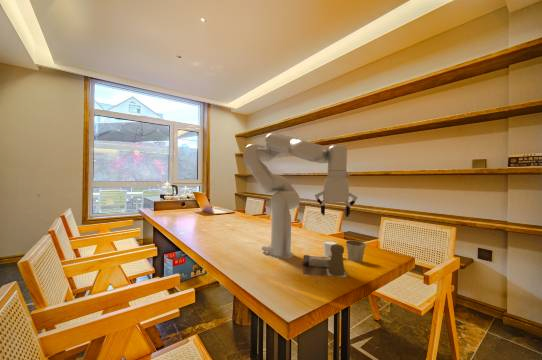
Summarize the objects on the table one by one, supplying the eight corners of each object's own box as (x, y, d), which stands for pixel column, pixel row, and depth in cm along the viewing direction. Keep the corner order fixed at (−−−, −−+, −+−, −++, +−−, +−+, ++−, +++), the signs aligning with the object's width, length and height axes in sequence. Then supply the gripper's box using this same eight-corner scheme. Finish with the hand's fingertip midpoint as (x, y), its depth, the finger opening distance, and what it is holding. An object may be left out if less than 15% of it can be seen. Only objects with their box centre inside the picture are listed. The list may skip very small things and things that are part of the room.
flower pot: (367, 266, 104) (368, 246, 104) (345, 264, 106) (346, 245, 106) (363, 259, 114) (364, 241, 113) (343, 257, 115) (344, 239, 115)
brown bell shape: (326, 269, 96) (327, 242, 96) (341, 269, 96) (342, 242, 96) (331, 275, 90) (332, 247, 90) (346, 276, 90) (347, 247, 90)
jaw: (303, 265, 99) (303, 256, 99) (303, 263, 101) (303, 254, 101) (339, 268, 96) (339, 259, 96) (338, 266, 99) (339, 257, 99)
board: (303, 277, 91) (303, 266, 91) (302, 263, 105) (302, 254, 105) (348, 280, 89) (348, 269, 89) (341, 266, 103) (342, 257, 103)
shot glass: (329, 260, 111) (329, 245, 110) (319, 255, 117) (320, 241, 117) (340, 258, 114) (340, 243, 114) (330, 253, 120) (331, 240, 120)
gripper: (356, 175, 101) (354, 215, 102) (315, 174, 103) (313, 213, 104) (360, 175, 94) (358, 218, 94) (316, 174, 96) (314, 215, 96)
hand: (334, 215), depth 99 cm, fingers open, 9 cm apart
